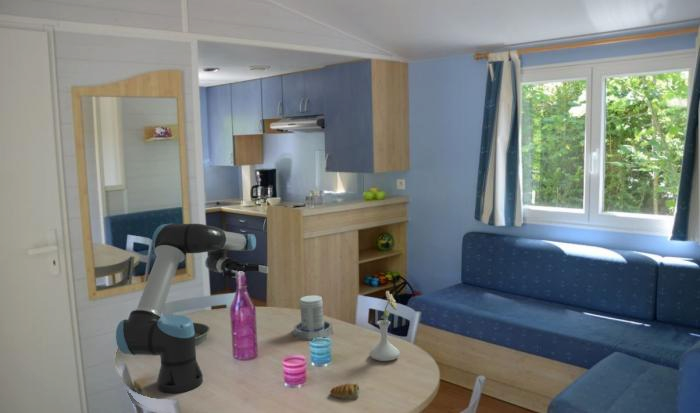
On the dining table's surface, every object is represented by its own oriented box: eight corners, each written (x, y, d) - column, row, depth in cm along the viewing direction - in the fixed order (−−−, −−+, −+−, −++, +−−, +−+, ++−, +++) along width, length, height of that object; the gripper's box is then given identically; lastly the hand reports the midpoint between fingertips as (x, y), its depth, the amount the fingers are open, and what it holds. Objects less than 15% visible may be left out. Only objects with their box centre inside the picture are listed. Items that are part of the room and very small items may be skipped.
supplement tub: (324, 327, 249) (322, 294, 247) (324, 334, 240) (322, 300, 238) (302, 328, 249) (300, 295, 247) (301, 336, 239) (299, 301, 238)
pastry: (329, 400, 182) (329, 388, 181) (331, 391, 188) (331, 380, 188) (358, 400, 181) (358, 388, 180) (360, 391, 188) (359, 379, 187)
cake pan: (201, 351, 228) (200, 340, 227) (140, 353, 229) (139, 342, 228) (216, 331, 252) (216, 321, 252) (161, 332, 253) (160, 322, 252)
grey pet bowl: (339, 333, 242) (339, 326, 242) (305, 342, 233) (305, 335, 233) (320, 324, 256) (320, 317, 255) (287, 331, 247) (287, 325, 247)
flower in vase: (390, 366, 206) (388, 298, 203) (363, 360, 212) (361, 295, 209) (407, 354, 217) (405, 289, 214) (381, 348, 223) (379, 286, 220)
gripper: (252, 270, 266) (279, 276, 250) (203, 279, 249) (229, 287, 234) (251, 254, 265) (278, 259, 249) (202, 262, 248) (227, 269, 233)
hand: (254, 273), depth 241 cm, fingers open, 13 cm apart
